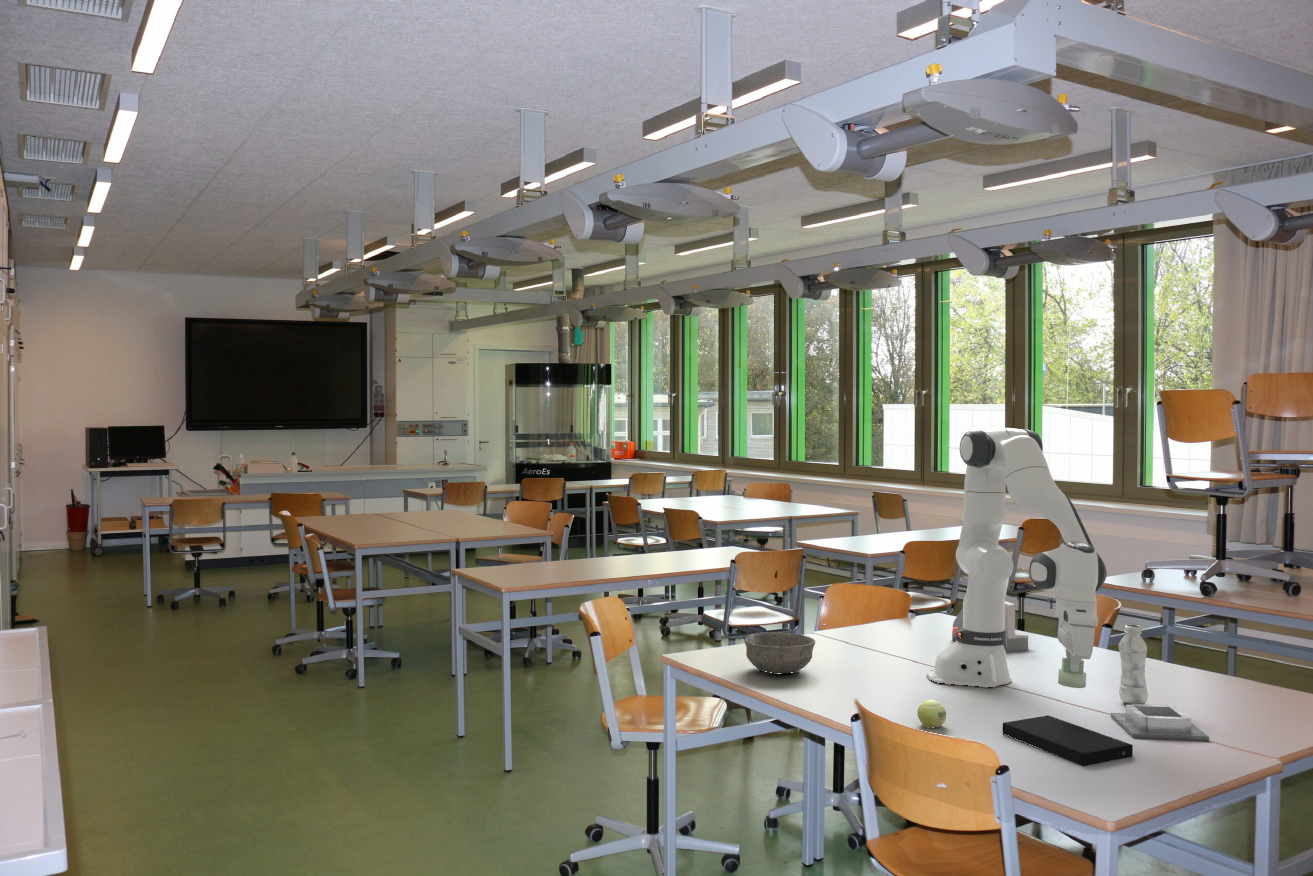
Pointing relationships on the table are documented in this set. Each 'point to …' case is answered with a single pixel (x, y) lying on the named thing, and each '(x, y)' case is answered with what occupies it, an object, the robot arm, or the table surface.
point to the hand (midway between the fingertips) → (1072, 669)
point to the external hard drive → (1068, 740)
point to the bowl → (779, 651)
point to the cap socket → (1158, 723)
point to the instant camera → (1014, 637)
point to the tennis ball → (931, 713)
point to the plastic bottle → (1133, 666)
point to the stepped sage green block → (1071, 675)
